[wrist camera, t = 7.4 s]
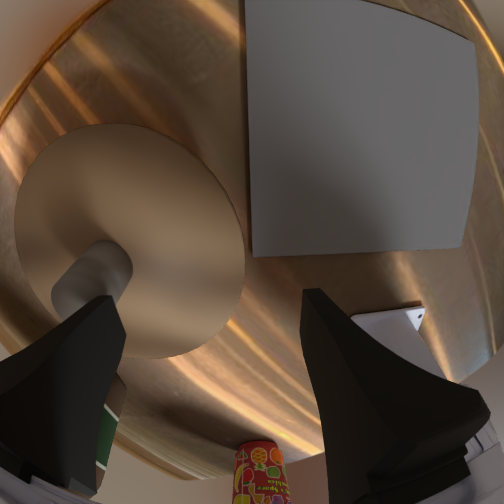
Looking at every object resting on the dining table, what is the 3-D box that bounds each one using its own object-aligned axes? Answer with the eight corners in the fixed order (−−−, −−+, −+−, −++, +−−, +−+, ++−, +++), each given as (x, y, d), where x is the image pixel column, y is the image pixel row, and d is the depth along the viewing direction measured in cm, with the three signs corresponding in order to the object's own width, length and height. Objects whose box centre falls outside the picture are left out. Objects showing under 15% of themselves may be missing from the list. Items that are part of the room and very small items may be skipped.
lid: (243, 355, 18) (245, 414, 14) (59, 338, 18) (34, 381, 13) (247, 112, 12) (250, 107, 7) (5, 148, 11) (-48, 167, 7)
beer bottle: (103, 401, 28) (65, 560, 7) (58, 363, 25) (-4, 529, 4) (141, 390, 27) (107, 584, 5) (90, 346, 23) (20, 558, 2)
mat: (456, 245, 20) (459, 247, 19) (252, 253, 19) (252, 257, 19) (470, 44, 12) (474, 43, 11) (244, -9, 11) (244, -12, 11)
